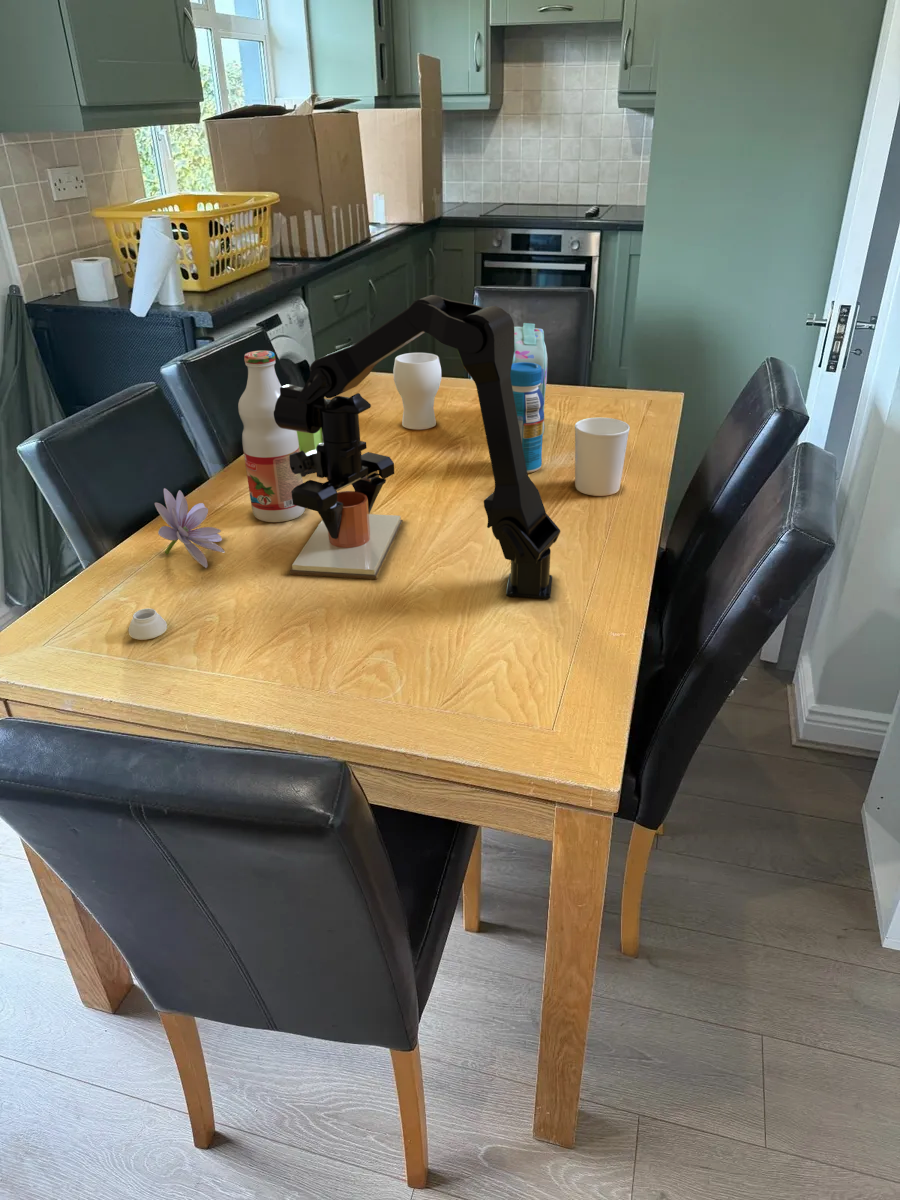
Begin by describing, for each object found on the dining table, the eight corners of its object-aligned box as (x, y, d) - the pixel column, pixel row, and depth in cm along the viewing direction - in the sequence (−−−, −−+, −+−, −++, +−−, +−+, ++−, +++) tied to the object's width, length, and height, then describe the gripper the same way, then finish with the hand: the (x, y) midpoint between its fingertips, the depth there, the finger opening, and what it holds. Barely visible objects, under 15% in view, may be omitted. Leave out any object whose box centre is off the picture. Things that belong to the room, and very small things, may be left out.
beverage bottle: (496, 473, 165) (497, 371, 155) (504, 458, 172) (505, 359, 162) (538, 476, 163) (543, 373, 153) (545, 461, 170) (549, 361, 160)
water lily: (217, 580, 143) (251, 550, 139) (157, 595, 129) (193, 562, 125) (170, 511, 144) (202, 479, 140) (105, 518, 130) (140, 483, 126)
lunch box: (497, 408, 201) (498, 315, 190) (540, 408, 201) (544, 315, 190) (498, 446, 178) (499, 343, 167) (546, 446, 178) (551, 343, 167)
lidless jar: (156, 618, 119) (123, 632, 116) (152, 600, 117) (118, 614, 114) (174, 632, 116) (140, 646, 113) (170, 613, 114) (136, 627, 111)
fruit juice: (308, 520, 147) (291, 358, 133) (254, 526, 145) (230, 363, 131) (303, 499, 155) (286, 344, 141) (251, 505, 153) (228, 349, 139)
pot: (364, 549, 134) (361, 508, 130) (323, 546, 135) (319, 506, 131) (374, 531, 139) (371, 491, 136) (334, 529, 140) (331, 490, 137)
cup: (388, 421, 194) (385, 355, 186) (431, 414, 198) (429, 349, 190) (406, 434, 186) (403, 366, 178) (450, 427, 189) (449, 360, 182)
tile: (376, 579, 128) (375, 570, 127) (290, 574, 130) (289, 565, 129) (403, 522, 146) (402, 514, 145) (326, 519, 148) (326, 511, 147)
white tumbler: (588, 474, 164) (592, 413, 158) (633, 485, 159) (639, 424, 153) (560, 489, 157) (564, 427, 151) (606, 502, 152) (612, 438, 146)
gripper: (340, 412, 139) (347, 500, 147) (259, 445, 126) (271, 540, 133) (394, 423, 134) (398, 513, 141) (315, 459, 120) (325, 556, 128)
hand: (348, 529), depth 136 cm, fingers closed on pot, 7 cm apart
